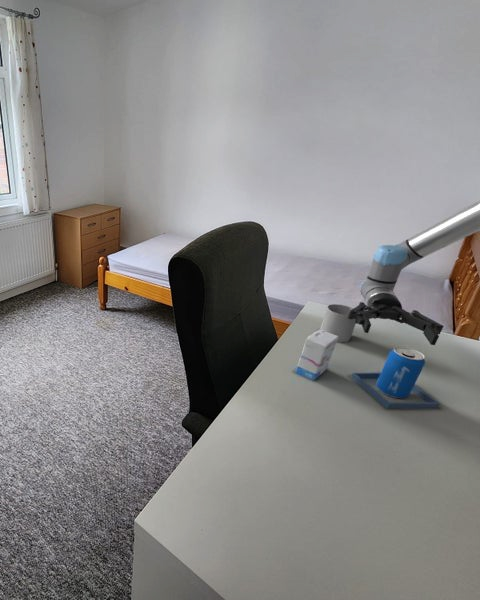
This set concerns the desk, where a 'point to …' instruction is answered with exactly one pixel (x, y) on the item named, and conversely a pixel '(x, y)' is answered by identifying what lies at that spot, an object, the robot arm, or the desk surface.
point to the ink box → (316, 354)
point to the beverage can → (400, 372)
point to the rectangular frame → (395, 405)
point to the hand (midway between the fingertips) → (400, 334)
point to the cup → (338, 322)
